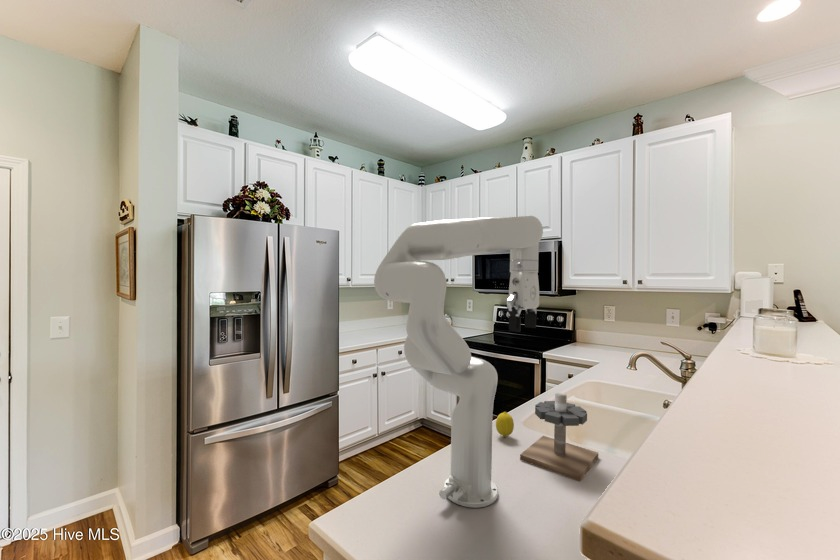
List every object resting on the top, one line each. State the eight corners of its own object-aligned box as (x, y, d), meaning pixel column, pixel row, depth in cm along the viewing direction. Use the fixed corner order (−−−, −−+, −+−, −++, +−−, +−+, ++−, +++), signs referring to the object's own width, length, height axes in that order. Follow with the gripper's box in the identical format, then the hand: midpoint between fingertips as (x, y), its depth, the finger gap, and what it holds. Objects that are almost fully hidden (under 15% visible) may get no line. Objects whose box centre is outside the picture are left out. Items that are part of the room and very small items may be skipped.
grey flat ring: (576, 430, 93) (577, 422, 93) (528, 416, 102) (528, 409, 102) (592, 415, 103) (592, 408, 103) (546, 404, 112) (546, 397, 112)
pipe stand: (580, 481, 91) (581, 409, 91) (520, 459, 102) (521, 395, 102) (598, 457, 104) (599, 394, 103) (542, 440, 114) (544, 382, 114)
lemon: (502, 431, 120) (503, 407, 120) (517, 437, 116) (517, 412, 115) (491, 436, 116) (492, 411, 116) (506, 442, 112) (506, 416, 112)
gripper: (522, 266, 92) (521, 334, 92) (549, 268, 105) (548, 327, 105) (496, 266, 97) (494, 331, 97) (524, 268, 110) (523, 325, 110)
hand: (522, 329), depth 101 cm, fingers open, 9 cm apart
